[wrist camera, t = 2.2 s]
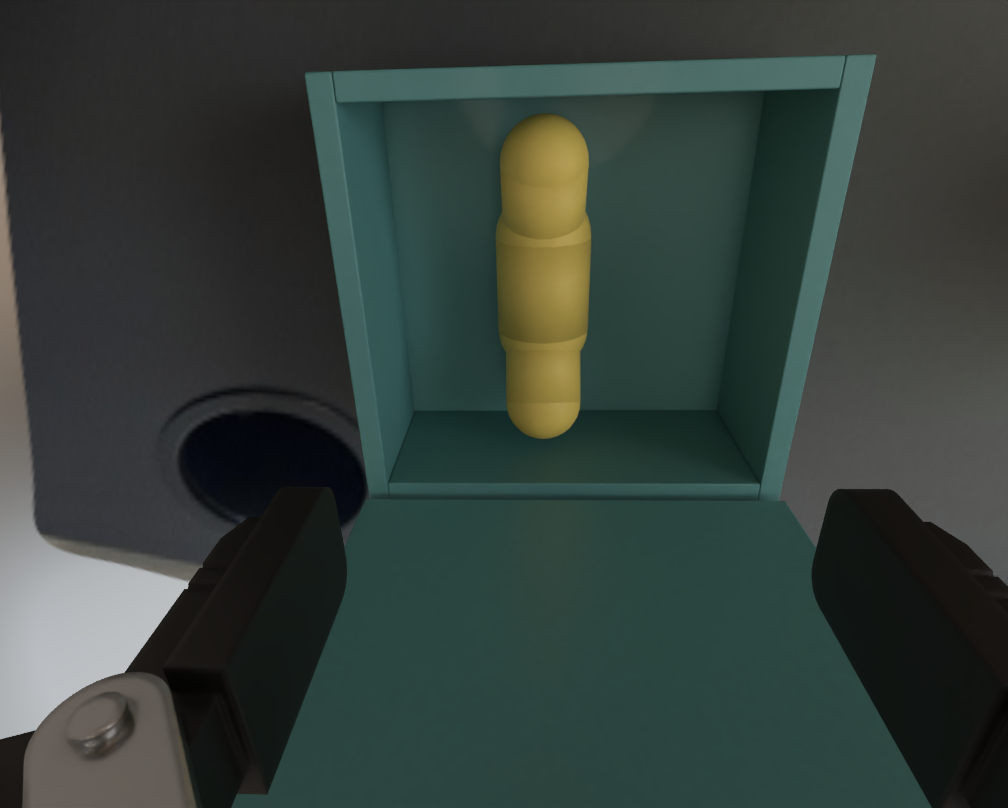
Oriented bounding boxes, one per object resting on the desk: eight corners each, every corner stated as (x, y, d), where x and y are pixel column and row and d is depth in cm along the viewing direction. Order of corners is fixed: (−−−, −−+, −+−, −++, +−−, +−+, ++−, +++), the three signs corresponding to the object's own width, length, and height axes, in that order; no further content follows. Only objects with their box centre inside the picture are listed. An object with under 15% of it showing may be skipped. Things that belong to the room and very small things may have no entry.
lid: (103, 1085, 9) (185, 1203, 11) (1218, 1143, 8) (1079, 1259, 10) (365, 498, 23) (379, 600, 25) (785, 500, 22) (764, 604, 24)
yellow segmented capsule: (494, 112, 23) (486, 115, 18) (591, 109, 22) (604, 112, 18) (503, 401, 28) (498, 452, 24) (581, 400, 28) (589, 452, 24)
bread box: (363, 78, 23) (302, 71, 17) (783, 66, 22) (877, 53, 16) (402, 417, 30) (369, 500, 23) (726, 416, 29) (779, 502, 23)
